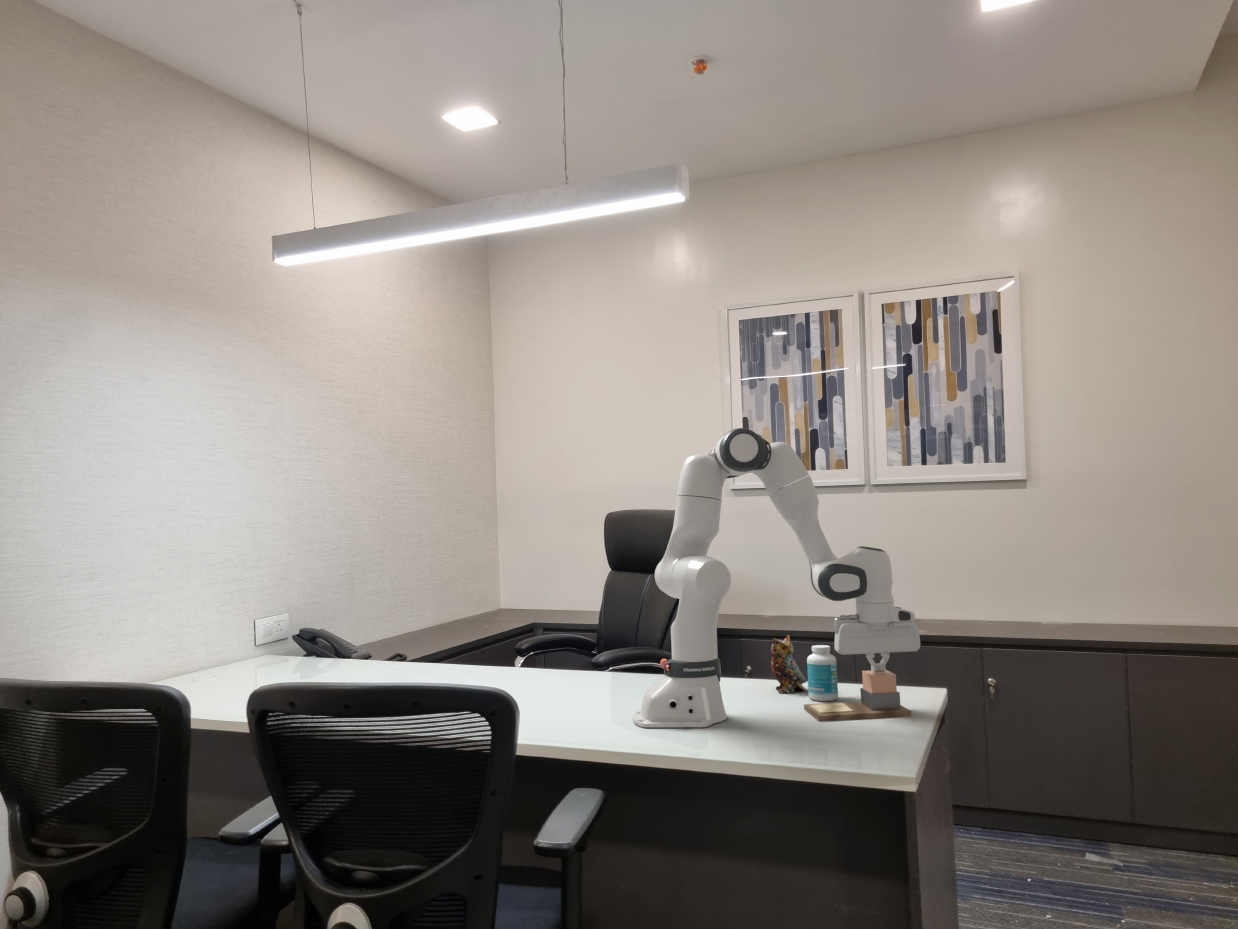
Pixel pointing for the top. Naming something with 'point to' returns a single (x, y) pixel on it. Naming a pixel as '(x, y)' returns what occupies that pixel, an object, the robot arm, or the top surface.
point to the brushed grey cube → (880, 700)
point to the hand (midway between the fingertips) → (878, 671)
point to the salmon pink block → (879, 682)
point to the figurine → (786, 667)
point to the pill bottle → (822, 674)
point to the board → (851, 711)
